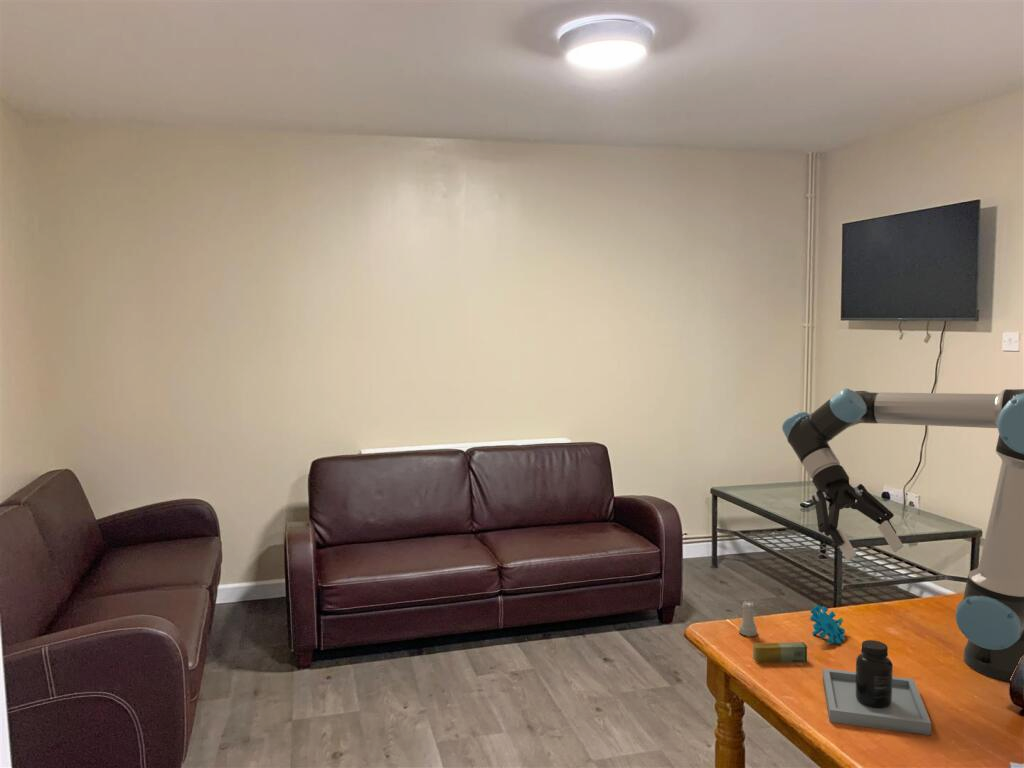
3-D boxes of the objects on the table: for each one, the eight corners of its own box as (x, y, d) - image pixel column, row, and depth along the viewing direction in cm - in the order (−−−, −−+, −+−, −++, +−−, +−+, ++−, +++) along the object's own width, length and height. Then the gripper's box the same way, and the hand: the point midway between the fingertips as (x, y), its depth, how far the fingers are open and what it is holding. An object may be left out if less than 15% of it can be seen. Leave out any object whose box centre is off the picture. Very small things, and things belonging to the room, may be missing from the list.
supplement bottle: (893, 697, 163) (895, 641, 161) (889, 712, 157) (892, 655, 155) (857, 689, 166) (859, 634, 165) (852, 703, 160) (854, 647, 159)
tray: (913, 690, 167) (913, 679, 167) (930, 735, 150) (931, 723, 150) (822, 679, 173) (822, 668, 172) (829, 721, 156) (830, 709, 155)
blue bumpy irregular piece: (828, 644, 186) (806, 605, 192) (811, 655, 189) (790, 616, 195) (856, 639, 192) (834, 601, 197) (839, 649, 195) (818, 612, 201)
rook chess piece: (753, 629, 199) (754, 598, 198) (759, 636, 194) (760, 605, 193) (736, 629, 199) (736, 599, 198) (742, 637, 194) (742, 606, 193)
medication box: (803, 658, 183) (803, 641, 183) (807, 663, 181) (808, 646, 180) (752, 659, 183) (752, 642, 183) (755, 664, 181) (755, 647, 180)
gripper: (857, 475, 191) (906, 553, 179) (775, 486, 181) (822, 569, 169) (875, 458, 185) (928, 537, 173) (792, 468, 176) (842, 553, 164)
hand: (876, 553), depth 171 cm, fingers open, 13 cm apart
